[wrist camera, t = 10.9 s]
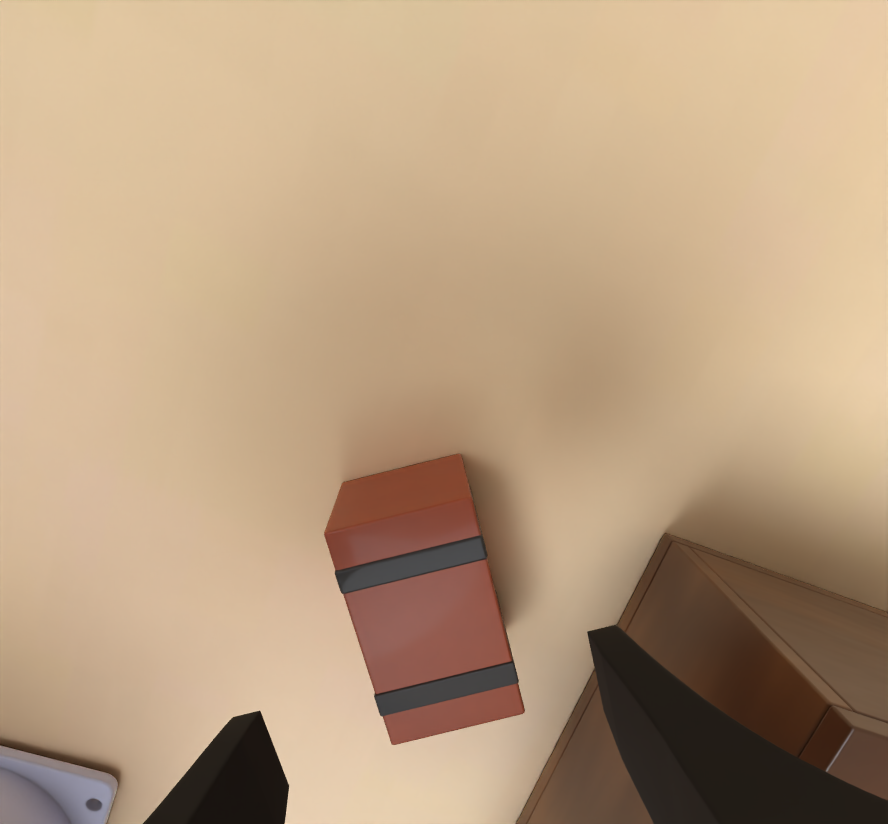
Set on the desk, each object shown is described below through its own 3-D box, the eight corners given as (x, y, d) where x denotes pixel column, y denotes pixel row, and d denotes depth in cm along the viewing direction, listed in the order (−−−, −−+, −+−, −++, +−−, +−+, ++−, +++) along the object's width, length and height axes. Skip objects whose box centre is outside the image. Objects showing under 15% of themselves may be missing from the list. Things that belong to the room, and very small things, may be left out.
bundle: (506, 633, 19) (527, 715, 15) (395, 660, 19) (390, 748, 15) (461, 452, 17) (473, 497, 14) (340, 482, 17) (321, 534, 14)
